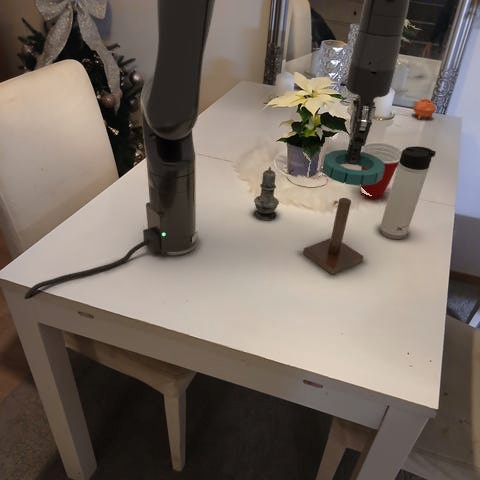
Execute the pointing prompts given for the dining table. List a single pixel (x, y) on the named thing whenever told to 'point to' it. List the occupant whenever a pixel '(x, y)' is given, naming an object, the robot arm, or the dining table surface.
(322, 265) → the post
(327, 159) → the ring
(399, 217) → the travel mug
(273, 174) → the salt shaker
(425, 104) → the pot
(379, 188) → the plastic cup
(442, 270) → the dining table surface
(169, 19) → the robot arm
